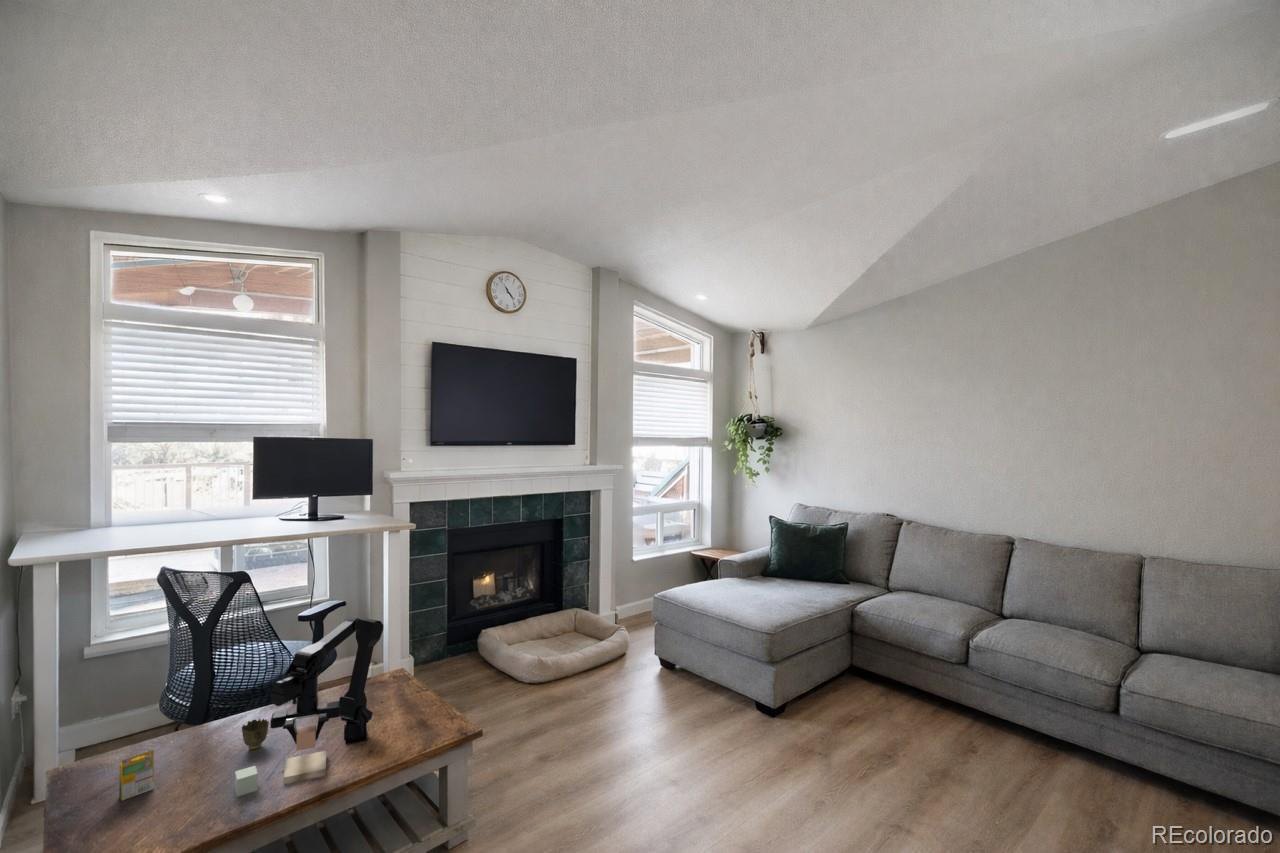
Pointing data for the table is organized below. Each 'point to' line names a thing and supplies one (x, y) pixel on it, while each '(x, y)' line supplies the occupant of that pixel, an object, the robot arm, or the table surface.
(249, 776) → the sage cube
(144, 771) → the crayon box
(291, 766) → the plinth
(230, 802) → the table surface
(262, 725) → the cup
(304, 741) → the terracotta cube
